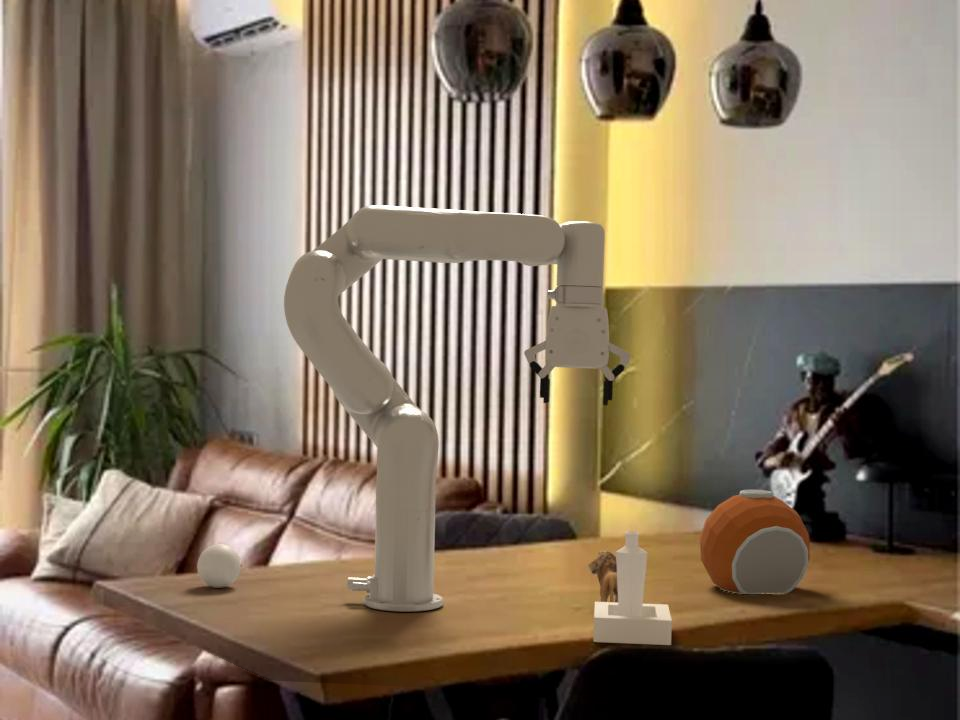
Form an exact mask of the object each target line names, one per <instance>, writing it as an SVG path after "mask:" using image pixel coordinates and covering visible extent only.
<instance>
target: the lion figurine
mask: <svg viewBox="0 0 960 720" xmlns="http://www.w3.org/2000/svg"><path fill="white" fill-rule="evenodd" d="M587 566H588V568H589V571H590V573H591V575H596V577H597V579H598V583H599V586H600V587H599V588H600V589H599V597H600V602H608V598H609V602H617V603H618V585H617V562H616V555H614V554H613V553H612V552H610V551H608V550H603V551H602V550H601V551H598V556H597V557H596V558H595V559H594V560H593V561H591V562H590V563H588V564H587ZM614 597H615V598H614Z"/></svg>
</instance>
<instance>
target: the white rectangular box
mask: <svg viewBox="0 0 960 720" xmlns="http://www.w3.org/2000/svg"><path fill="white" fill-rule="evenodd" d="M593 614H594V615H593V616H594V617H593V618H594V619H593V642H594V643H609V644H610V643H611V644H612V643H613V644H630V645H631V644H635V645H636V644H637V645H658V646H661V645H662V646H672V625H673V621H672V620H673V619H672V615H671V612H670V608H669V604H662V603H643V605H642V615H641V617H638V616H619V609H618V603H617V602H615V601H614V602H610V601H607V602H601V601H594V612H593Z"/></svg>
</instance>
